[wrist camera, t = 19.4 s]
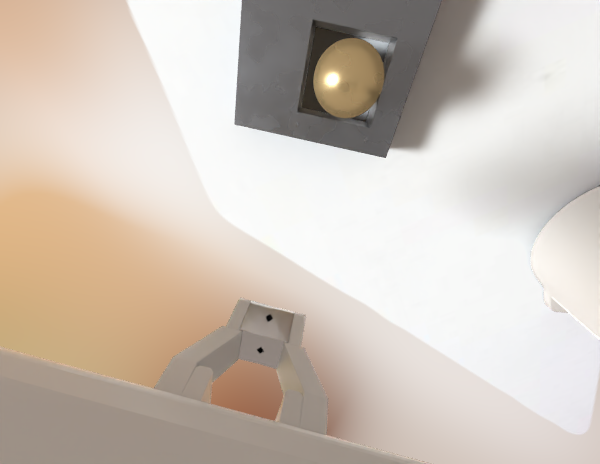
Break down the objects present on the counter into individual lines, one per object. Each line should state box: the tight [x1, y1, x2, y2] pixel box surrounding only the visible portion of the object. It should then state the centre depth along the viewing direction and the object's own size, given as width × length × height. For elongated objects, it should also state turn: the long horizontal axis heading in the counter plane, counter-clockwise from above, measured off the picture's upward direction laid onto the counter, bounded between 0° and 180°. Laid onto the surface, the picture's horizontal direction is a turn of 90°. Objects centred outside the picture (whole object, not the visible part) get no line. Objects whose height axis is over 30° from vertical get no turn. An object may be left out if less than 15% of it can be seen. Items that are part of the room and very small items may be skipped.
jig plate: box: [235, 0, 442, 158], centre depth 21 cm, size 13×12×4 cm
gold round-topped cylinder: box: [313, 38, 384, 118], centre depth 19 cm, size 4×4×9 cm
